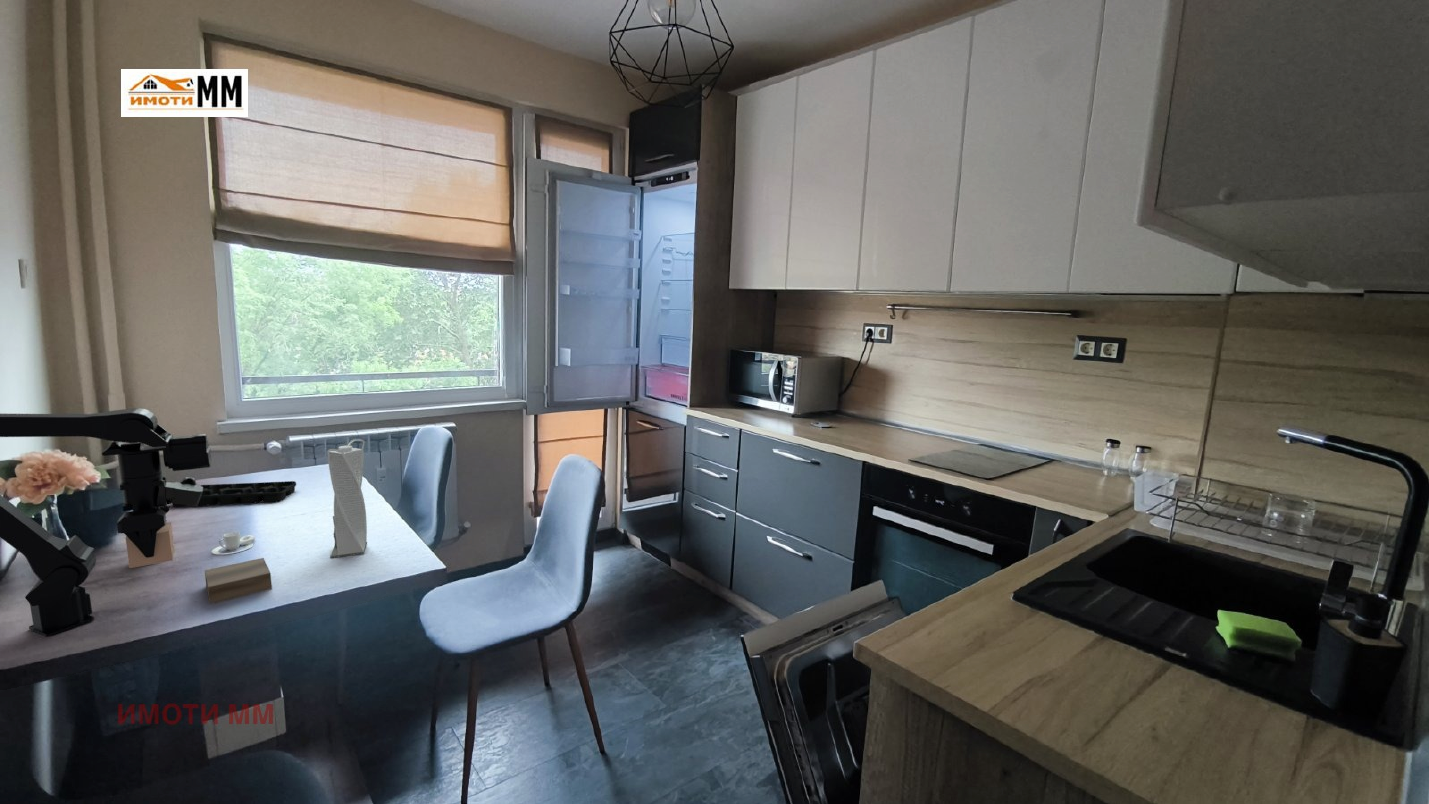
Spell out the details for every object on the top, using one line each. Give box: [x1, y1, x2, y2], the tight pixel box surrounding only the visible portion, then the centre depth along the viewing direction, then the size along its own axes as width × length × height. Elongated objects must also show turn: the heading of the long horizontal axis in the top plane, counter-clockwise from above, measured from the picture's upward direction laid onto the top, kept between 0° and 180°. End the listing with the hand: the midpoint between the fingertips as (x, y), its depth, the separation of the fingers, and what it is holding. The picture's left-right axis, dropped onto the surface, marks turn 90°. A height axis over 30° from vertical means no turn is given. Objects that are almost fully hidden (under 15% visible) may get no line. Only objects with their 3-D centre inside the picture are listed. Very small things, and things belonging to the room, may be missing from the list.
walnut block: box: [204, 557, 273, 605], centre depth 124 cm, size 10×10×4 cm
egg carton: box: [171, 480, 297, 508], centre depth 179 cm, size 18×30×4 cm, turn 117°
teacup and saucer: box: [211, 531, 256, 556], centre depth 144 cm, size 9×8×4 cm
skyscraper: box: [326, 438, 368, 559], centre depth 142 cm, size 8×8×28 cm
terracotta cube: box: [125, 522, 176, 569], centre depth 115 cm, size 6×6×6 cm
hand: (151, 551), depth 115 cm, fingers closed on terracotta cube, 6 cm apart
